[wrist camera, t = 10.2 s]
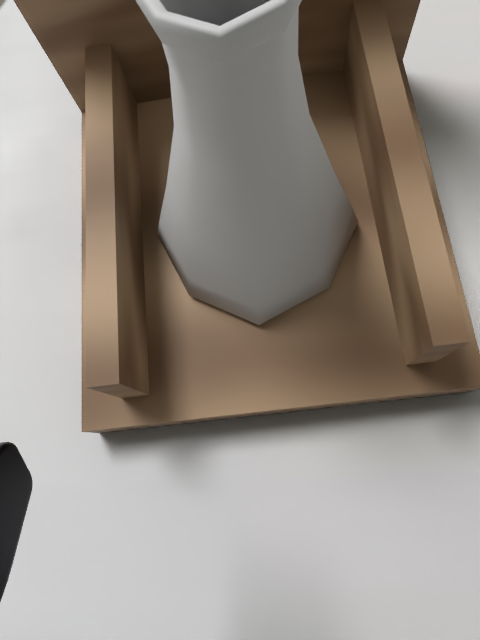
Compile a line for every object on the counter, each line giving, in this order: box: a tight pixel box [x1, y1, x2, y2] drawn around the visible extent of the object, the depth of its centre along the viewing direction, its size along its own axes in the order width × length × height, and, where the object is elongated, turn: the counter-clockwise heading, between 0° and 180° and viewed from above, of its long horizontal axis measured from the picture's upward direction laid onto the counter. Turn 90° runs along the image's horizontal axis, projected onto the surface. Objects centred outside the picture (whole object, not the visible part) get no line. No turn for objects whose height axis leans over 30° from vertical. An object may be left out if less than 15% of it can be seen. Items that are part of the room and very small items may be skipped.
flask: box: [136, 0, 358, 325], centre depth 12 cm, size 7×7×10 cm
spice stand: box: [14, 0, 480, 433], centre depth 13 cm, size 15×14×12 cm
